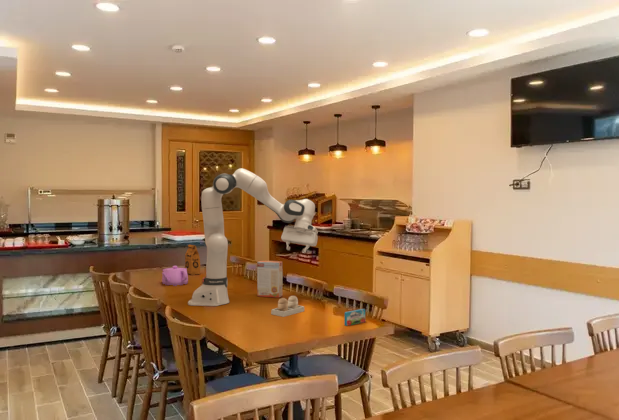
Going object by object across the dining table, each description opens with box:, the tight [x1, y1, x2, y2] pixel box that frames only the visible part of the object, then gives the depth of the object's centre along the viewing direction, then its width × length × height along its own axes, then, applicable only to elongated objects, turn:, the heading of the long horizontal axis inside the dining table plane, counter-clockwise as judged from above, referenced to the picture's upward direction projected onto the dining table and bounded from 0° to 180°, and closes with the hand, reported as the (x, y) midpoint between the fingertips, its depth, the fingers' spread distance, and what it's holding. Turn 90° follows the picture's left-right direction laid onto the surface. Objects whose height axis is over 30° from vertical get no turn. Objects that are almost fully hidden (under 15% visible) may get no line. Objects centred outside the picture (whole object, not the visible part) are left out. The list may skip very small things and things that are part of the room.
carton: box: [270, 304, 305, 318], centre depth 257 cm, size 16×8×3 cm, turn 141°
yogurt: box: [344, 308, 366, 327], centre depth 238 cm, size 12×2×6 cm, turn 129°
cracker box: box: [256, 260, 284, 299], centre depth 301 cm, size 14×6×21 cm, turn 71°
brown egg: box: [277, 297, 288, 312], centre depth 254 cm, size 5×5×8 cm
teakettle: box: [161, 265, 189, 287], centre depth 341 cm, size 17×17×12 cm
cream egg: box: [287, 295, 299, 309], centre depth 260 cm, size 5×5×8 cm
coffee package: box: [184, 244, 201, 276], centre depth 384 cm, size 10×12×22 cm
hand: (295, 250), depth 277 cm, fingers open, 8 cm apart
